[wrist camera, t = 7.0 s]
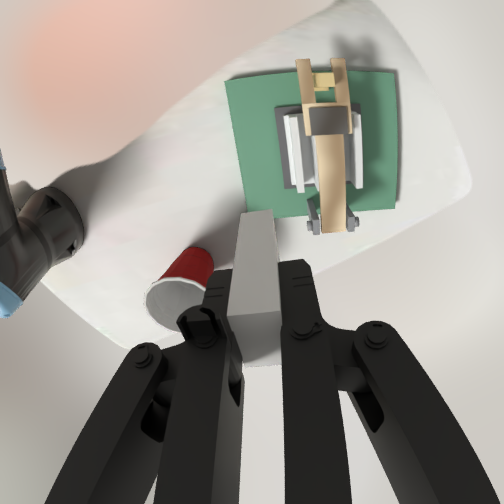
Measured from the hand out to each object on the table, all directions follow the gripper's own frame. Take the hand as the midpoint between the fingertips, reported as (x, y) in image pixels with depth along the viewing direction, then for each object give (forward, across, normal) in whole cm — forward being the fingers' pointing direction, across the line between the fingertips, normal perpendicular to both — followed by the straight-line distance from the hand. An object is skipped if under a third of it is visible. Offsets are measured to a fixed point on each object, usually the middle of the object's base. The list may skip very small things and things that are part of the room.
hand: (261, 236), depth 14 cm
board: (+25, +8, -1) cm, 26 cm away
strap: (+18, +8, 0) cm, 20 cm away
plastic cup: (+26, -14, -18) cm, 34 cm away
